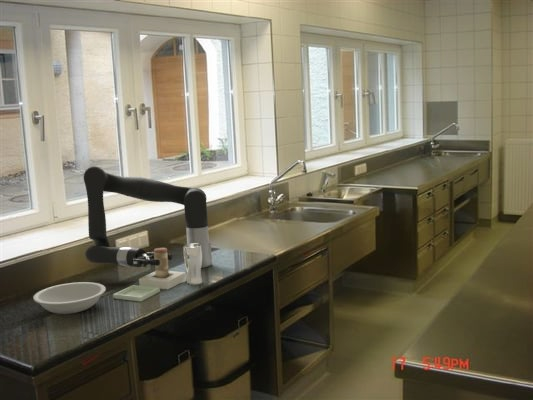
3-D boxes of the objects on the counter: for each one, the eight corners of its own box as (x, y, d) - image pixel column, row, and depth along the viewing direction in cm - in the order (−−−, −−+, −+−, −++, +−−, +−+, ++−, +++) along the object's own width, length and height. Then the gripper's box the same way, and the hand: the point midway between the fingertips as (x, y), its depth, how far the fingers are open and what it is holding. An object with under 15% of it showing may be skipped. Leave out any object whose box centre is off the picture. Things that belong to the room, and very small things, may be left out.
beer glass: (189, 286, 240) (186, 248, 238) (183, 282, 246) (180, 244, 244) (206, 283, 243) (203, 245, 241) (199, 279, 249) (197, 242, 247)
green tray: (133, 289, 239) (133, 284, 239) (160, 292, 234) (159, 287, 234) (113, 299, 228) (113, 294, 228) (140, 302, 223) (140, 297, 223)
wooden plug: (165, 281, 248) (163, 247, 246) (171, 284, 244) (169, 249, 242) (154, 284, 245) (151, 249, 243) (159, 286, 241) (157, 251, 239)
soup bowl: (37, 327, 203) (35, 308, 202) (33, 306, 225) (31, 288, 223) (112, 314, 212) (111, 295, 211) (101, 295, 234) (99, 278, 233)
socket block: (158, 278, 253) (158, 269, 253) (186, 280, 248) (185, 272, 247) (139, 287, 242) (138, 278, 241) (168, 290, 236) (167, 281, 236)
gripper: (119, 252, 242) (154, 254, 235) (141, 243, 255) (175, 246, 248) (120, 270, 243) (155, 274, 236) (142, 261, 256) (176, 264, 249)
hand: (165, 259), depth 242 cm, fingers open, 8 cm apart
